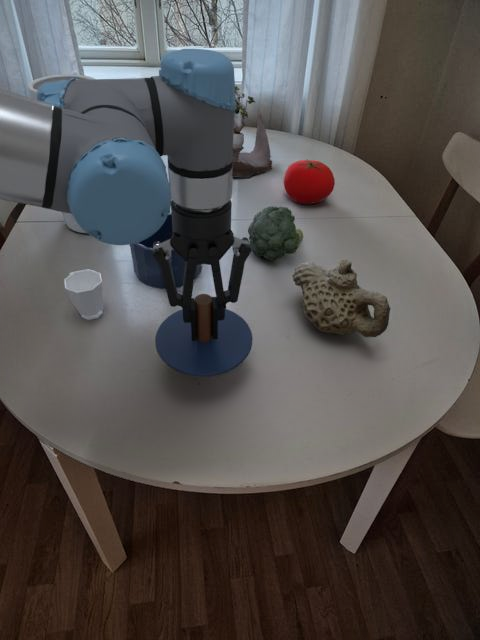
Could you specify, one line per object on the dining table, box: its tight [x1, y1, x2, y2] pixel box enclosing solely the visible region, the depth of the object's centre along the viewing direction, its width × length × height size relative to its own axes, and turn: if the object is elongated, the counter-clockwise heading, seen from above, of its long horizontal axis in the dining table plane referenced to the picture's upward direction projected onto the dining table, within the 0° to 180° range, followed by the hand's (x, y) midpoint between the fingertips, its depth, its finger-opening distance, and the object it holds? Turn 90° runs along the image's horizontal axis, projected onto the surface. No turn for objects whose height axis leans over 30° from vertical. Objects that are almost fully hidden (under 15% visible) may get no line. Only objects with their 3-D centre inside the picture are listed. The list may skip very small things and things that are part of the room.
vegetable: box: [247, 205, 304, 262], centre depth 98 cm, size 12×13×15 cm
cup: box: [63, 268, 104, 321], centre depth 82 cm, size 7×10×8 cm
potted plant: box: [232, 85, 273, 180], centre depth 131 cm, size 20×19×25 cm
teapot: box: [292, 258, 391, 338], centre depth 78 cm, size 21×12×15 cm, turn 40°
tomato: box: [283, 159, 336, 205], centre depth 118 cm, size 14×13×10 cm
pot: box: [129, 211, 203, 290], centre depth 92 cm, size 15×20×10 cm
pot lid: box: [154, 293, 253, 378], centre depth 67 cm, size 16×16×9 cm
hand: (204, 333), depth 69 cm, fingers closed on pot lid, 3 cm apart
